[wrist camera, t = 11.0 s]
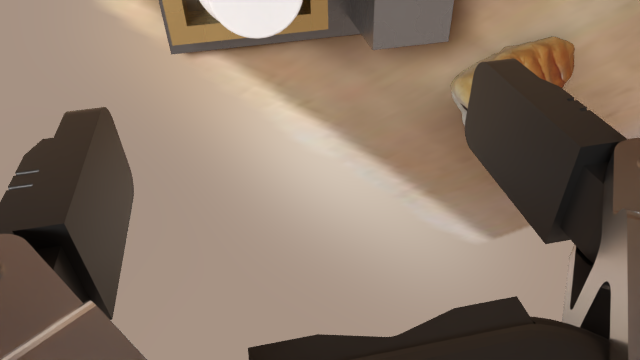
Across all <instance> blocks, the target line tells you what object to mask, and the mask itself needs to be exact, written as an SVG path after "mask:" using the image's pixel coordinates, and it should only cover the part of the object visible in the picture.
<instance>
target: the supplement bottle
mask: <svg viewBox="0 0 640 360" xmlns="http://www.w3.org/2000/svg"><path fill="white" fill-rule="evenodd" d="M199 1H200V3H201V4H202V5H203V7H204V8H205V9H206V10H207V11H208V13H209V14H210V15H212V16H213V17H214V18H215V19H216V20H218V21H219V22H220V23H221V24H222V25H223V26H224V27H226V28H227V29H228V30H230V31H231V32H233V33H235V34H237V35H240V36H243V37H247V38H256V39H259V38H266V37H270V36H273V35H275V34H277V33H279V32H281V31H283V30H284V29H285V28H287V27H288V26H289V25H290V24H291V23H292V22H293V20H294V19H295V18H296V16H297V14H298V12H299V11H300V8H301V6H302V2H303V0H199Z"/></svg>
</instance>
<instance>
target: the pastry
mask: <svg viewBox="0 0 640 360" xmlns="http://www.w3.org/2000/svg"><path fill="white" fill-rule="evenodd" d="M574 50H575V48H574V45H573V44H572V43H570V42H568V41H565V40H562V39H560V38H557V37H549V38H545V39H542V40H538V41H535V42H528V43H525V44H522V45H518V46H508V47H505V48H503V49H502V50H501V51H500V52H499V53H496V54H493V55H491V56H490V57H488V58H486V59H484V60H482V61H479V62H477V63H476V64H474V65H472V66H471V67H469V68H468V69H466V70H464V71H463V72H462V73H461V74H459V75H458V76H456V78H455V79H454V80H453V81H452V83H451V89H452V92H451V93H452V97H453V100H454V102H455V103H456V104H457V106H458V108H459V109H460V111H461V112H462V121H463V124H464V126H465V120H466V114H467V109H468V103H469V97H470V92H471V86H472V81H473V75H474V71H475V69H476V67H477V65H478V64H479V63H481V62H487V61H495V60H503V59H512V58H513V59H516V60H518V61H519V62H520V63H522V64H523V65H524V66H525V67H527V68H528V69H529V70H530V71H532V72H533V73H534V74H535V75H537V76H538V77H539V78H541V79H543V80H546V81H548V82H550V83H553V84H555V85H557V86H559V87H561V88H562V87H563V86H564V84H565V83H566V81H567V80H568V79H569V78H570V77H571V75H572V72H573V68H574V55H573V54H574Z"/></svg>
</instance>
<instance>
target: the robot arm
mask: <svg viewBox="0 0 640 360" xmlns="http://www.w3.org/2000/svg"><path fill="white" fill-rule="evenodd" d="M465 136H466V140H467V143H468V146H469V148H470V149H471V150H472V152H473V153H474V154H475V156H476V157H477V158H478V159H479V161H480V162H481V163H482V164H483V166H484V167H485V168H486V169H487V171H488V172H489V173H490V174H491V176H492V177H493V178H494V180H495V181H496V182H497V183H498V185H499V186H500V187H501V188H502V190H503V191H504V192H505V193H506V195H507V196H508V197H509V199H510V200H511V201H512V202H513V204H514V205H515V206H516V207H517V209H518V210H519V211H520V212H521V214H522V215H523V216H524V217H525V219H526V220H527V221H528V223H529V224H530V225H531V226H532V228H533V229H534V230H535V231H536V233H537V234H538V235H539V236H540V237H541V239H542V240H543V242H544V243H545V244H549V243H554V242H560V241H566V240H572V242H573V243H574V247H573V249H572V252H571V254H570V258H569V266H568V275H567V283H566V293H565V302H564V310H563V319H562V322H559V321H555V320H551V319H545V318H538V317H530V316H529V315H528V313H527V312H526V310H525V308H524V307H523V305H522V304H521V302H520V301H519V300H518V298H517V297H511V298H506V299H500V300H495V301H490V302H485V303H479V304H474V305H469V306H465V307H459V308H454V309H452V310H450V311H448V312H446V313H444V314H441V315H439V316H437V317H435V318H433V319H431V320H429V321H427V322H425V323H423V324H420V325H418V326H416V327H414V328H412V329H410V330H408V331H406V332H404V333H402V334H399V335H397V336H393V337H369V336H343V335H313V336H307V337H303V338H297V339H292V340H287V341H281V342H276V343H271V344H266V345H261V346H256V347H250V348H248V353H249V360H640V138H633V139H626V138H625V137H624V136H623V135H621V134H620V133H619V132H617V131H616V130H615V129H613V128H612V127H611V126H610V125H608V124H607V123H606V122H604V121H603V120H602V119H601V118H599V117H598V116H597V115H595V114H594V113H593V112H592V111H590V110H588V111H587V109H586V107H585V106H584V105H583V104H581V103H580V102H579V101H577V100H575V101H574V97H572V96H571V95H570V94H568V93H567V92H566V91H565V90H563V89H562V88H561V87H559V86H557V85H555V84H553V83H550V82H548V81H546V80H543V79H541V78H539V77H538V76H537V75H535V74H534V73H533V72H532V71H530V70H529V69H528V68H527V67H525V66H524V65H523V64H522V63H520V62H519V61H518V60H516V59H513V58H512V59H503V60H495V61H487V62H481V63H479V64H478V65H477V67H476V69H475V71H474V75H473V81H472V86H471V92H470V97H469V103H468V109H467V114H466V120H465ZM8 188H9V190H7V191H6V192H5V194H4V196H3V198H2V200H1V202H0V360H147V359H146V358H145V357H144V356H143V355H142V354H141V353H140V351H139V350H138V349H137V348H136V347H135V346H134V345H133V344H132V343H131V342H130V341H129V340H128V339H127V338H126V336H125V335H124V334H123V333H122V332H121V331H120V330H119V329H118V328H117V327H116V326H115V325H114V324H113V323H112V321H111V319H112V317H113V312H114V306H115V300H116V295H117V289H118V283H119V277H120V271H121V266H122V260H123V255H124V249H125V243H126V237H127V231H128V225H129V220H130V214H131V209H132V203H133V196H134V187H133V179H132V174H131V170H130V167H129V164H128V161H127V158H126V155H125V153H124V150H123V147H122V144H121V141H120V138H119V135H118V133H117V130H116V127H115V124H114V121H113V118H112V116H111V114H110V112H109V110H108V109H107V108H106V107H102V108H94V109H85V110H77V111H70V112H66V113H65V114H64V116H63V118H62V120H61V123H60V125H59V127H58V129H57V131H56V134H55V136H54V138H48V139H42V140H41V141H40V142H39V143H38V144H37V145H36V146H35V147H33V148H32V149H31V150H30V151H29V152H28V153H26V154H25V155H24V157H23V159H22V161H21V163H20V165H19V167H18V169H17V170H16V176H13V178H12V181H11V182H10V184H9V186H8Z"/></svg>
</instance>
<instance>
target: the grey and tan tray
mask: <svg viewBox="0 0 640 360" xmlns="http://www.w3.org/2000/svg"><path fill="white" fill-rule="evenodd" d="M159 4H160V8H161V12H162V17H163V21H164V25H165V29H166V34H167V38H168V42H169V46H170V51H171V54H179V53H188V52H198V51H207V50H216V49H226V48H235V47H244V46H253V45H263V44H272V43H281V42H290V41H300V40H309V39H318V38H327V37H337V36H346V35H355V34H361V35H362V36H363V37H364V39H365V40H366V41H367V43H368V44H369V46H370V47H371V48H372V50H378V49H386V48H395V47H404V46H413V45H422V44H431V43H439V42H448V40H449V33H450V26H451V19H452V11H453V4H454V0H303V2H302V6H301V8H300V11H299V12H298V14H297V16H296V18H295V19H294V20H293V22H292V23H291V24H290V25H289V26H288V27H287V28H285V29H284V30H283V31H281V32H279V33H277V34H275V35H273V36H270V37H266V38H259V39H256V38H247V37H243V36H240V35H237V34H235V33H233V32H231V31H230V30H228V29H227V28H226V27H224V26H223V25H222V24H221V23H220V22H219V21H218V20H216V19H215V18H214V17H213V16H212V15H210V14H209V13H208V11H207V10H206V9H205V8H204V7H203V5H202V4H201V3H200V1H199V0H159Z"/></svg>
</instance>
